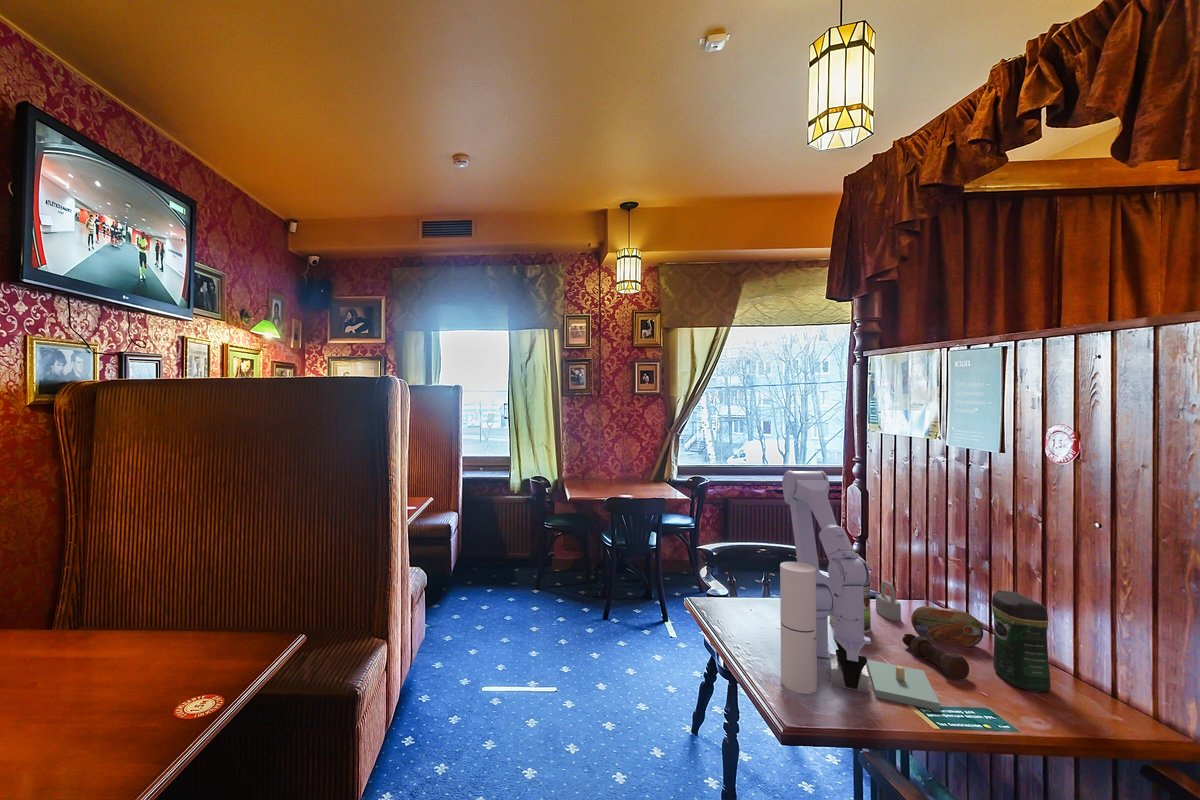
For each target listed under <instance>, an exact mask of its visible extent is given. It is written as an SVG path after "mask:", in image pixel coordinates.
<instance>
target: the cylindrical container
mask: <svg viewBox="0 0 1200 800" xmlns="http://www.w3.org/2000/svg"><path fill="white" fill-rule="evenodd" d="M779 577H780V578H779V580H780V581H779V582H780V584H779V587H780V588H779V589H780V598H779V600H780V601H779V602H780V603H779V605H780V607H779V608H780V681H781V684H782V685H783V686H784V687H785V688H786V689H788V690H790V691H791V692H795V693H798V694H804V695H806V694H807V695H808V694H814V693H816V692H817V689H818V673H817V672H818V668H817V667H818V659H817V657H818V656H817V642H816V585H817V583H816V569H815V567H813V566H811V565H809V564H805V563H800V562H797V561H783V562H780V564H779Z"/></svg>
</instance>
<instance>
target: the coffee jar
mask: <svg viewBox="0 0 1200 800" xmlns="http://www.w3.org/2000/svg"><path fill="white" fill-rule="evenodd" d="M991 608H992V614H993V625H994V626H993V633H994V634H993V662H992V663H993V670H994V671H995V672H996V673H997V674H998V676H1000V677H1001V678H1002V679H1003V680H1005V681H1007V683H1009V684H1011V685H1012V686H1014V687H1017V688H1021V689H1024V690H1028V691H1031V692H1034V693H1035V692H1037V693H1039V692H1040V693H1042V692H1047V691H1050V690H1051V673H1050V664H1049V652H1048V651H1049V650H1048V634H1047V632H1048V626H1049V615H1048V609H1047V607H1046V606H1045V605H1042V604H1041V603H1038V602H1036V601H1035V600H1033V599H1031V598H1029V597H1026V596H1025V595H1023V594H1021V593H1019V592H1018V591H1010V590H1009V591H1008V590H997V591H995V592H994V593H993V594H992V598H991Z"/></svg>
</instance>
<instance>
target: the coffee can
mask: <svg viewBox="0 0 1200 800" xmlns="http://www.w3.org/2000/svg"><path fill="white" fill-rule="evenodd" d="M828 579H829V580H830V578H828ZM863 587H864V633H865V634H868V633H870V632H871V630H872V627H871V626H872V625H871V579H870V580H869V583H868V585H866V586H863ZM829 621H830V622H829V624H830V623H831V624H832V625H833V627H834V610H833V611H832V612H831V616H829ZM832 625H831V626H832Z"/></svg>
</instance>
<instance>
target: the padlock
mask: <svg viewBox="0 0 1200 800" xmlns="http://www.w3.org/2000/svg"><path fill="white" fill-rule="evenodd" d="M886 586H887V587H888V588H889V591H890V592H889V593H890V595H887V594H886ZM875 611H876V612H877V613H878V614H879V615H880V616H882V617H884V618H885V617H886V619H888V620H889V621H893V622H895V621H902V604H901V602H899V600H897V599H896V591H895V587H894V586H893V584H892V583H891V582H890V581H888V580H883V581H882V582H881V584H880V594H877V593H876V594H875Z"/></svg>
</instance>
